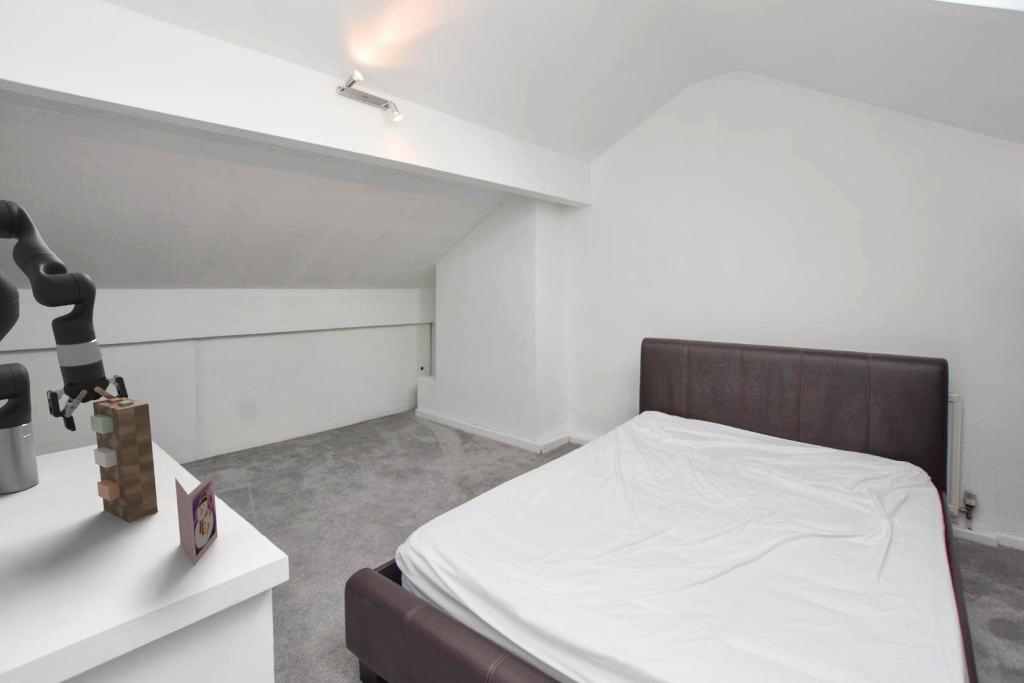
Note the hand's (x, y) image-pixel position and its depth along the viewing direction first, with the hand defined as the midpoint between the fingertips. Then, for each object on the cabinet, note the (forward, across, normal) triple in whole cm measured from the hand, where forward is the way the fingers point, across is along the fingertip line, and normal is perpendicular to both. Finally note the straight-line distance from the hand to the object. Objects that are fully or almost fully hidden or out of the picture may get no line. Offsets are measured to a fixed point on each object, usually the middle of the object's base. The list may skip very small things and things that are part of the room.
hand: (95, 423), depth 118 cm
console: (+21, 0, +10) cm, 23 cm away
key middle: (+7, +1, +9) cm, 11 cm away
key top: (-1, +1, +8) cm, 8 cm away
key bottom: (+15, +2, +9) cm, 18 cm away
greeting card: (+19, 0, +40) cm, 44 cm away
